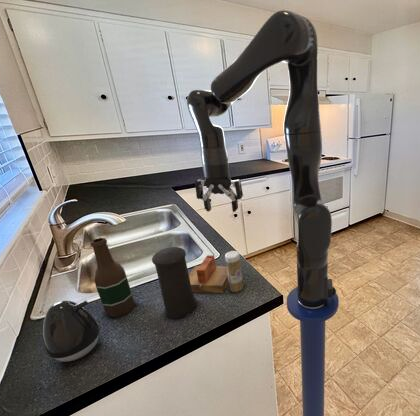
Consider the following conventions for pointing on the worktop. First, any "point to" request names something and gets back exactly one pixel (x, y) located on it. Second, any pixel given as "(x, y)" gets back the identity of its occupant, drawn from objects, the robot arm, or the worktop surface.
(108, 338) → the worktop surface
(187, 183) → the worktop surface
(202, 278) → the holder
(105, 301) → the beer bottle
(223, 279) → the holder base
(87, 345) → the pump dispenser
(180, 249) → the container
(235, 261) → the sprinkles bottle
